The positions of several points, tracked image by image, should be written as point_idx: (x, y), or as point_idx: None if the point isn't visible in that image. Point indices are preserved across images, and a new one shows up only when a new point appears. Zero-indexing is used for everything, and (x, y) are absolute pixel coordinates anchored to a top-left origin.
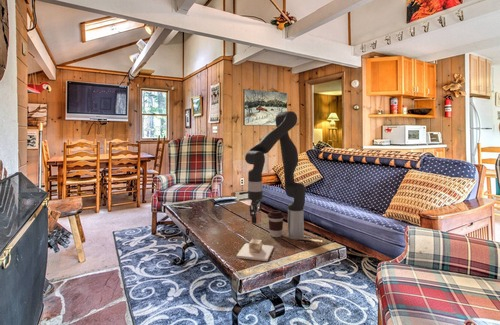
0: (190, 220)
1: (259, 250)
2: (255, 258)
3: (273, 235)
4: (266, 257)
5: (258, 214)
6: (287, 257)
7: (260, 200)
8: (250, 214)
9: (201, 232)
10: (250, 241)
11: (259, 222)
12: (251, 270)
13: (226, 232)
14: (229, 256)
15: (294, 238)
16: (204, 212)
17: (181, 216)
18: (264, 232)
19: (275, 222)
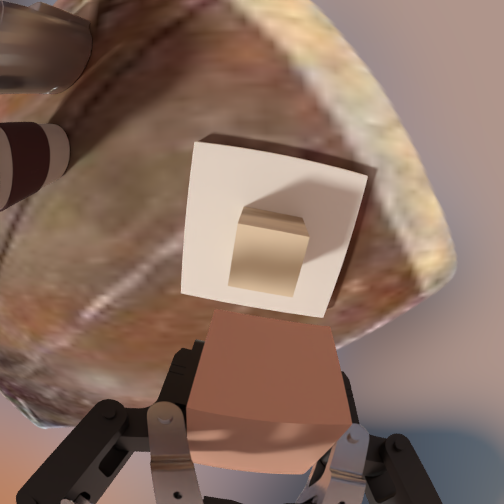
0: (71, 414)
1: (303, 222)
2: (349, 234)
3: (65, 161)
4: (352, 180)
5: (328, 428)
6: (315, 69)
7: (16, 496)
8: (385, 474)
9: (124, 407)
10: (269, 291)
11: (296, 330)
12: (430, 244)
13: (91, 352)
14: None
15: (87, 52)
16: (19, 383)
17: (65, 423)
18: (38, 211)
19: (15, 161)
